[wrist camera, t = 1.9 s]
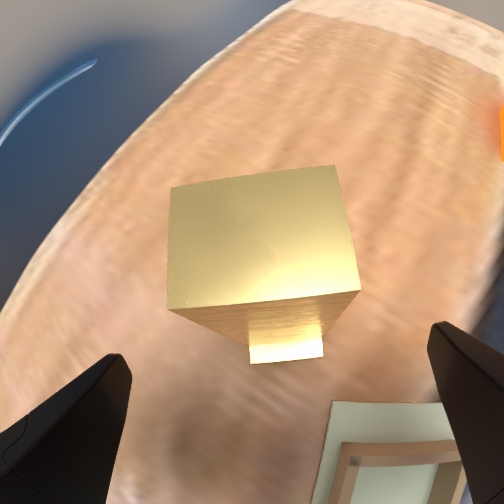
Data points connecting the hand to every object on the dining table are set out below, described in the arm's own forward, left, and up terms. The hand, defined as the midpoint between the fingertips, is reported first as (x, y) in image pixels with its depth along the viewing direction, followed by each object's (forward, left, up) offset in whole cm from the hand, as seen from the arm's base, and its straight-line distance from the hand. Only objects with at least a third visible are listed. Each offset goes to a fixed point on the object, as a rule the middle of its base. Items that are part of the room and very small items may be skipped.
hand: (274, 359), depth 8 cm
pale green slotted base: (-6, -10, -10) cm, 15 cm away
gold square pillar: (+2, +1, -10) cm, 10 cm away
